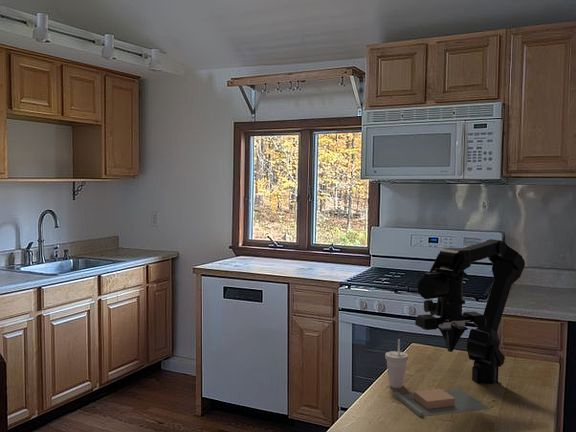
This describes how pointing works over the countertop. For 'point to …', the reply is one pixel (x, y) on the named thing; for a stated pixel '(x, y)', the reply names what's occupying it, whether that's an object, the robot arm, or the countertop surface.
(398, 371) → the smoothie
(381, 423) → the countertop surface
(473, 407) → the slate board
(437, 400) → the tile
